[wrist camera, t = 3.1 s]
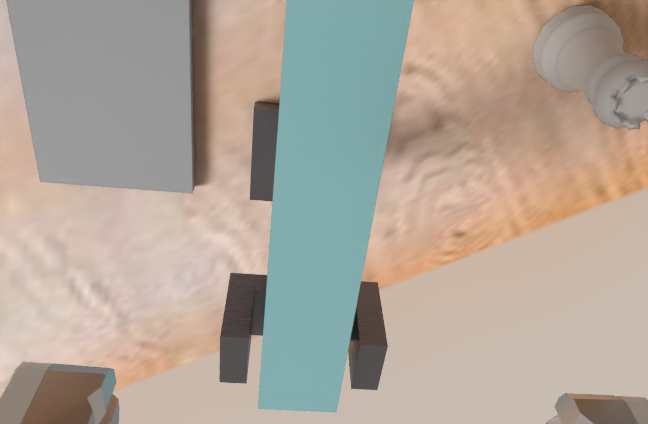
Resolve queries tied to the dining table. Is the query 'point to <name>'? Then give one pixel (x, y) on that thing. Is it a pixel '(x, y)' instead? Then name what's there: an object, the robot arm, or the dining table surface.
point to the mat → (108, 90)
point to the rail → (325, 189)
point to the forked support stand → (250, 289)
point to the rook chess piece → (594, 65)
